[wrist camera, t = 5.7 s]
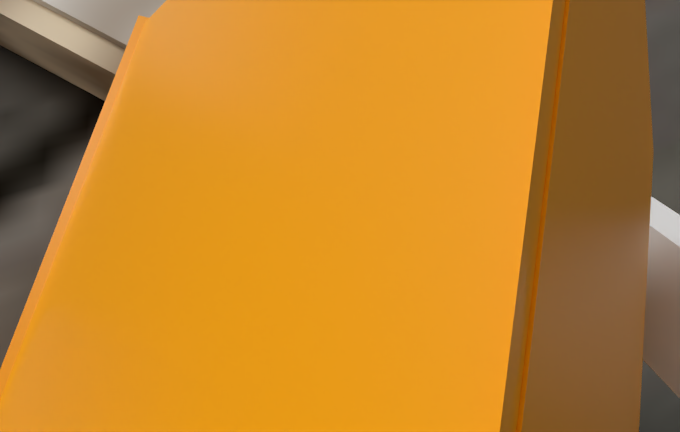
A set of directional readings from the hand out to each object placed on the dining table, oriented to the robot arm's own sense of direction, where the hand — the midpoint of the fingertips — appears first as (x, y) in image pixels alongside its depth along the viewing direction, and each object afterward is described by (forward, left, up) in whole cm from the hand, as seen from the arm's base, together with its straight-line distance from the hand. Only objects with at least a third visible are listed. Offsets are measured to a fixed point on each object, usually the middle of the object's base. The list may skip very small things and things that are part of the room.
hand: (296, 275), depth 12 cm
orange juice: (+1, -2, -10) cm, 10 cm away
